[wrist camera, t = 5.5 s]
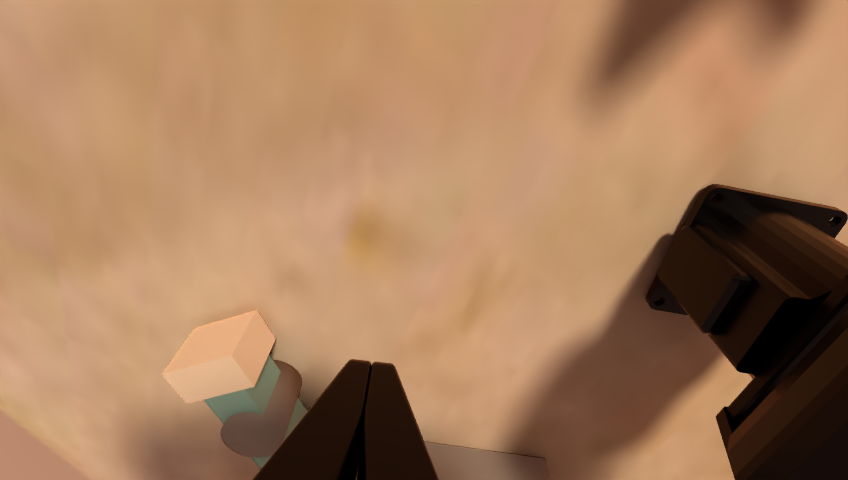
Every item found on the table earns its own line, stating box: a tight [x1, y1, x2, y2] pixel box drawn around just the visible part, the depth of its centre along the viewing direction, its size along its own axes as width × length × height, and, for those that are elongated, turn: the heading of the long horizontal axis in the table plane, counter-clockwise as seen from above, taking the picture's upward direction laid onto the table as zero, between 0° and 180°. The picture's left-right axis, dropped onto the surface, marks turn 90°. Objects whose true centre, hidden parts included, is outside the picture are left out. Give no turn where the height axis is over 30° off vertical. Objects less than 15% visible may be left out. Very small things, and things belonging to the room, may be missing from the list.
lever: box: [162, 310, 307, 469], centre depth 25 cm, size 18×4×4 cm, turn 19°
